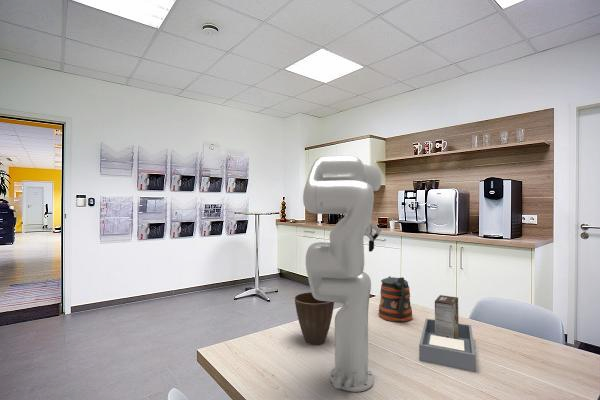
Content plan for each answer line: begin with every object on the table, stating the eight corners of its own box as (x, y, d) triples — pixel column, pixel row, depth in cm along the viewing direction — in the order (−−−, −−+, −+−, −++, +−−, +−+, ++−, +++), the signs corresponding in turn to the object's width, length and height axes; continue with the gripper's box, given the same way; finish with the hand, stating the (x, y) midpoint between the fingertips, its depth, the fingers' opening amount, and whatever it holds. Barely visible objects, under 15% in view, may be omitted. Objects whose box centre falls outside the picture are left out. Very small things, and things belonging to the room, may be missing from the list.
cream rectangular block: (464, 367, 95) (464, 350, 95) (429, 360, 99) (429, 344, 99) (463, 355, 102) (463, 340, 102) (430, 349, 106) (430, 334, 106)
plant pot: (289, 347, 110) (289, 302, 111) (299, 330, 125) (299, 290, 125) (331, 351, 107) (331, 305, 107) (337, 334, 121) (336, 293, 122)
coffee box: (440, 337, 116) (439, 294, 116) (459, 341, 112) (458, 297, 113) (434, 346, 108) (434, 300, 109) (454, 351, 105) (454, 303, 105)
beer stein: (423, 326, 130) (423, 278, 130) (389, 327, 128) (389, 278, 128) (403, 310, 149) (403, 268, 149) (374, 311, 147) (374, 269, 147)
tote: (475, 375, 92) (475, 355, 92) (419, 363, 99) (419, 344, 99) (471, 341, 115) (471, 325, 115) (425, 333, 122) (425, 318, 122)
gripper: (333, 205, 119) (333, 250, 119) (378, 205, 111) (378, 253, 111) (339, 205, 126) (339, 247, 125) (383, 205, 118) (383, 250, 118)
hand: (358, 250), depth 118 cm, fingers open, 9 cm apart
